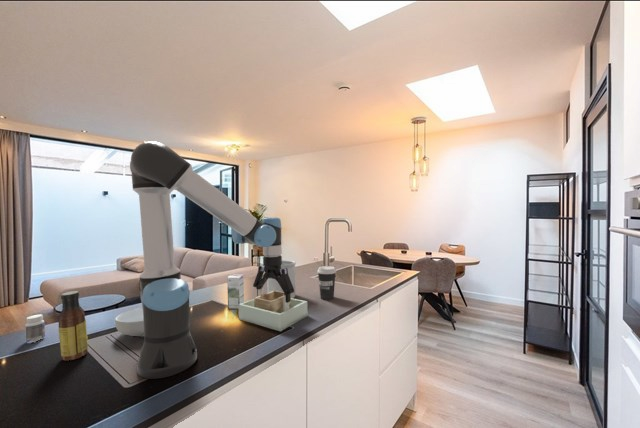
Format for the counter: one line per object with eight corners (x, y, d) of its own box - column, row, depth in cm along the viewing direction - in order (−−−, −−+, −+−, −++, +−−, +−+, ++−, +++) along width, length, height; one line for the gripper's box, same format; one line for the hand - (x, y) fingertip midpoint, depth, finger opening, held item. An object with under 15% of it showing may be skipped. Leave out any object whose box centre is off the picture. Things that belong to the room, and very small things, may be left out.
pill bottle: (47, 339, 98) (46, 315, 98) (28, 344, 94) (27, 320, 94) (42, 336, 100) (41, 312, 100) (23, 341, 96) (22, 317, 96)
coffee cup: (314, 296, 141) (313, 266, 140) (331, 293, 145) (330, 265, 144) (322, 302, 132) (322, 270, 132) (340, 299, 136) (339, 268, 136)
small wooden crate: (271, 322, 106) (271, 301, 106) (254, 317, 111) (254, 298, 111) (291, 312, 117) (290, 293, 116) (274, 308, 121) (274, 290, 121)
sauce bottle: (85, 349, 90) (83, 288, 90) (90, 355, 86) (88, 291, 86) (57, 357, 85) (55, 293, 85) (61, 365, 81) (59, 296, 81)
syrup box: (244, 305, 130) (244, 274, 129) (239, 309, 124) (239, 277, 123) (232, 304, 130) (232, 273, 130) (227, 309, 124) (226, 277, 124)
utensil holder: (261, 300, 136) (260, 264, 135) (273, 291, 150) (273, 259, 150) (290, 302, 132) (289, 265, 132) (299, 293, 147) (299, 260, 146)
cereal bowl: (180, 325, 108) (179, 307, 108) (142, 345, 92) (141, 324, 92) (145, 321, 113) (144, 303, 112) (103, 339, 97) (102, 319, 96)
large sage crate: (280, 331, 101) (280, 314, 101) (238, 319, 113) (238, 304, 113) (307, 315, 115) (307, 301, 115) (268, 306, 127) (267, 293, 127)
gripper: (302, 256, 110) (303, 309, 110) (257, 251, 124) (257, 299, 124) (290, 259, 104) (291, 316, 104) (244, 254, 117) (245, 304, 118)
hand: (273, 307), depth 114 cm, fingers open, 13 cm apart
